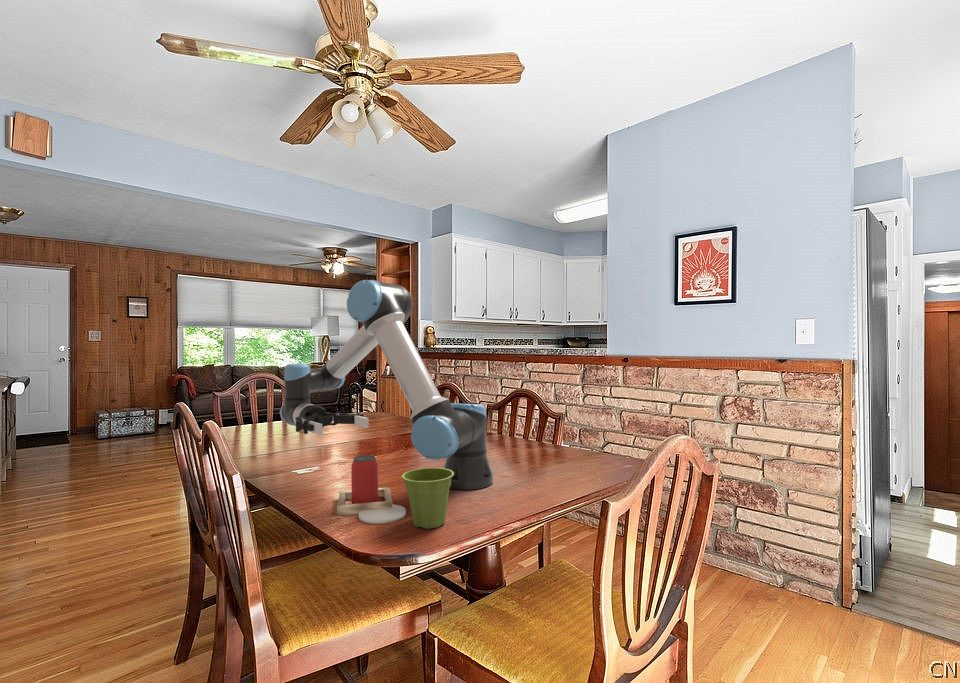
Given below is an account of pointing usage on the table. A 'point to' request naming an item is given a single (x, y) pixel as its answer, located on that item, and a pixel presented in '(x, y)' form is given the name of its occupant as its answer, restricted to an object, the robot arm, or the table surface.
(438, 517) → the plant pot
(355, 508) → the frame
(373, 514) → the white plate
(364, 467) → the beer can
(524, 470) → the table surface
